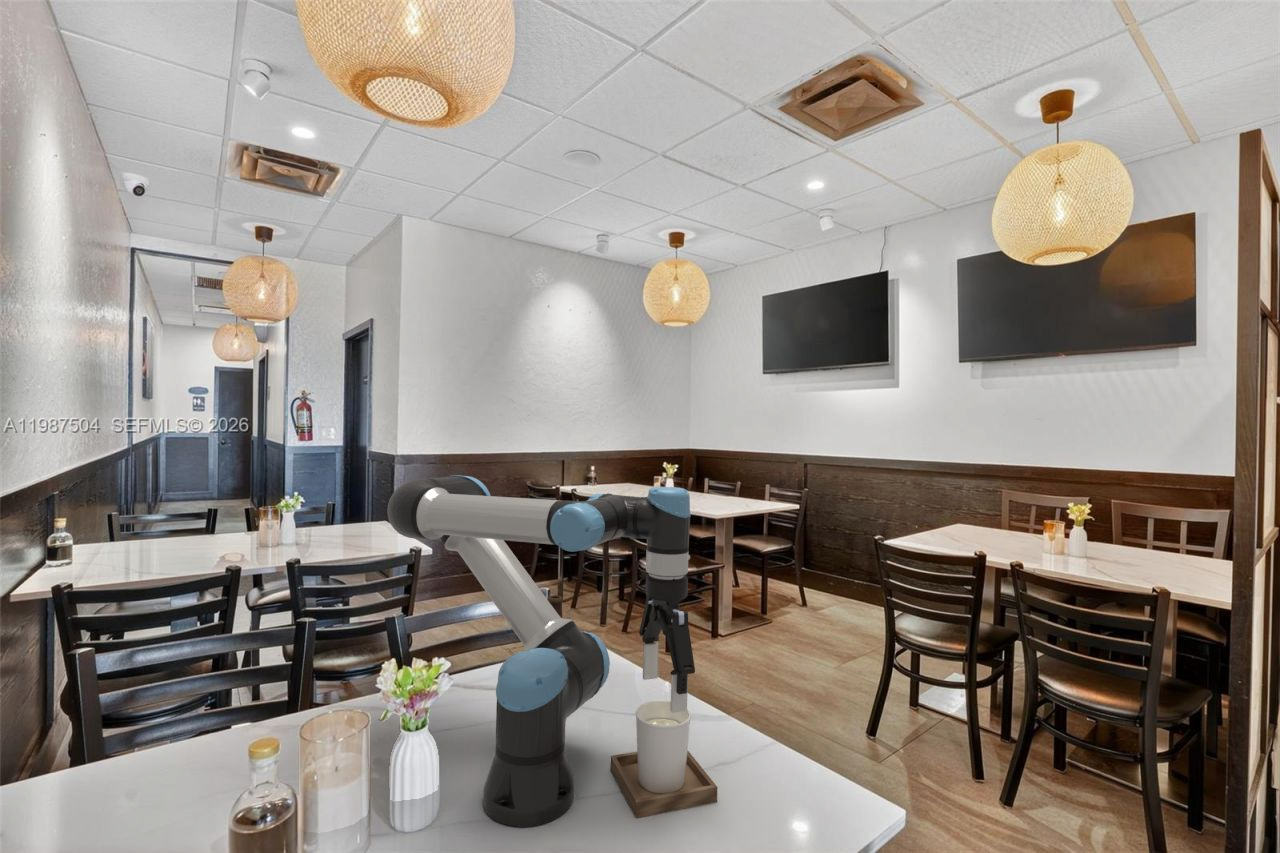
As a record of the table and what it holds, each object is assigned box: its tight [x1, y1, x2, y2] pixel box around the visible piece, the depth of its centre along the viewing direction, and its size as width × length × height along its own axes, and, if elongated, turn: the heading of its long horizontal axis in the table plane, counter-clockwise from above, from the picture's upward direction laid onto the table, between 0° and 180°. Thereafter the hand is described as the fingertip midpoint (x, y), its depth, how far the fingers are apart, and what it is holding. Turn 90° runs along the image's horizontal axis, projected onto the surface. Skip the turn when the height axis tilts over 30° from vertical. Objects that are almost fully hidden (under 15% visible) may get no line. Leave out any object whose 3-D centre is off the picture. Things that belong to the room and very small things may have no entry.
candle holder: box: [635, 700, 692, 794], centre depth 107 cm, size 10×10×12 cm
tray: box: [609, 750, 718, 819], centre depth 107 cm, size 15×15×2 cm
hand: (663, 693), depth 107 cm, fingers open, 13 cm apart
